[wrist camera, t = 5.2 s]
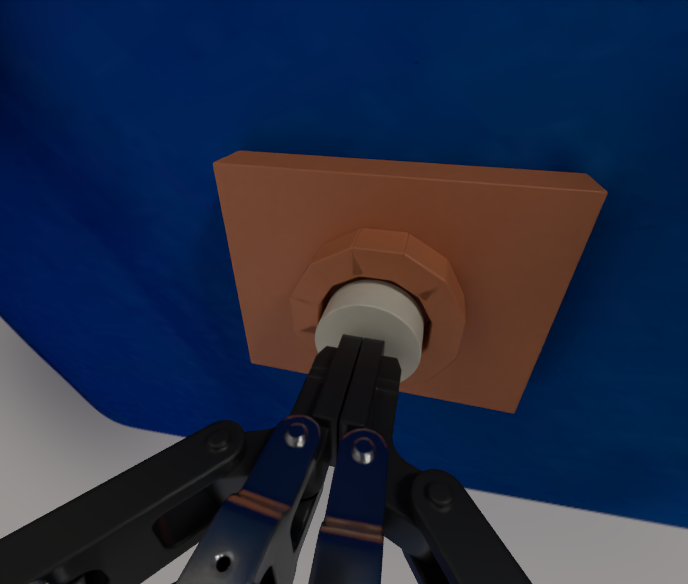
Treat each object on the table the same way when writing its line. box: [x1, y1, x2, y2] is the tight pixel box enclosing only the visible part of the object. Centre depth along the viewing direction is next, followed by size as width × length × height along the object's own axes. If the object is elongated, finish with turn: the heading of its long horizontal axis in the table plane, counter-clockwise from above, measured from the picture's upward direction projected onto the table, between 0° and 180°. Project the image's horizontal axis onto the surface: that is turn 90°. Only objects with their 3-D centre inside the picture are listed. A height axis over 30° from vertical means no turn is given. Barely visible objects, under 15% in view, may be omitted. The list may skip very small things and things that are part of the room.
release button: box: [315, 279, 424, 382], centre depth 14 cm, size 4×4×2 cm
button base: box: [213, 151, 607, 413], centre depth 16 cm, size 14×11×4 cm
